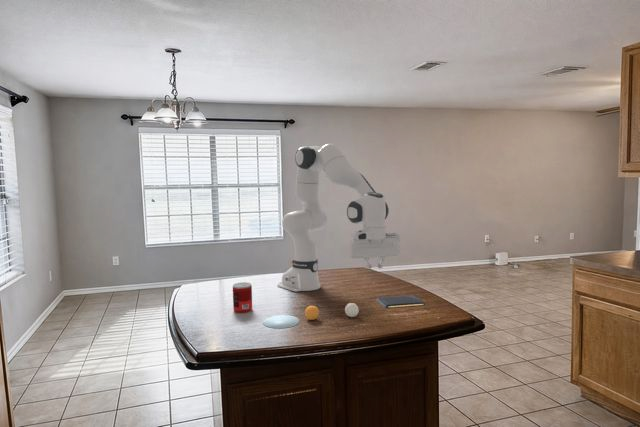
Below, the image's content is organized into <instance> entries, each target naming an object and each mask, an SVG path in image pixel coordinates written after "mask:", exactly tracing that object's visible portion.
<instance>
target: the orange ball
mask: <svg viewBox="0 0 640 427" xmlns="http://www.w3.org/2000/svg"><path fill="white" fill-rule="evenodd" d="M304 315H305V317H306V319H307V320H308V321H309V320H310V321H313V320H317V318H318V317H319V315H320V311H319V309H318V307H317V306H315V305H309V306H307V307H306V308H305V309H304Z"/></svg>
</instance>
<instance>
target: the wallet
mask: <svg viewBox="0 0 640 427" xmlns="http://www.w3.org/2000/svg"><path fill="white" fill-rule="evenodd" d="M375 301H377V303H378V304H379V305H380V306H382V307H383V308H384V309H385V310H386V309H387V310H388V309H390V310H391V309H400V308H401V309H402V308H411V307H413V308H417V307H427V306H429V305H428V304H427V303H426V302H425V301H423V300H422V299H421V298H419V297H418V296H416V295H414V294H411V295H410V294H409V295H407V294H406V295H397V296H395V295H393V296H380V297H377V298H375Z"/></svg>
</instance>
